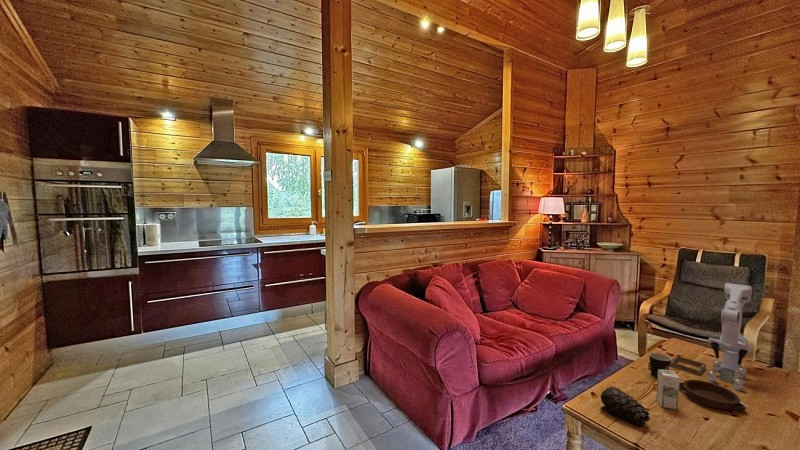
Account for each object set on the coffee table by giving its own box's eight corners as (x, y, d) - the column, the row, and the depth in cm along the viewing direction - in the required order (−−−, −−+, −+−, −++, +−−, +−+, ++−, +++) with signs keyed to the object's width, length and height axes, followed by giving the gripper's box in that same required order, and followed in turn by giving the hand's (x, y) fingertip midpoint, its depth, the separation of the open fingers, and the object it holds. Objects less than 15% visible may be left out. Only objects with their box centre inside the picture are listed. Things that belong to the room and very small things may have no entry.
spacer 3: (737, 376, 164) (738, 366, 163) (746, 378, 161) (747, 368, 161) (736, 378, 162) (737, 368, 162) (745, 380, 160) (746, 370, 159)
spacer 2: (713, 368, 171) (713, 359, 171) (721, 371, 169) (721, 361, 168) (712, 370, 169) (712, 361, 169) (720, 372, 167) (720, 363, 166)
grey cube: (721, 376, 164) (722, 366, 163) (734, 380, 160) (735, 370, 160) (719, 379, 161) (720, 369, 161) (732, 383, 157) (733, 373, 157)
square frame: (676, 359, 181) (676, 355, 181) (705, 368, 171) (705, 364, 171) (669, 366, 174) (669, 361, 174) (699, 375, 164) (699, 371, 164)
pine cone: (645, 433, 124) (646, 408, 123) (595, 409, 139) (596, 386, 138) (656, 423, 130) (657, 398, 129) (607, 400, 145) (608, 379, 144)
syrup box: (671, 402, 143) (673, 370, 142) (678, 410, 137) (679, 377, 136) (656, 400, 145) (657, 368, 144) (661, 408, 139) (663, 375, 138)
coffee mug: (662, 371, 168) (663, 352, 168) (674, 381, 160) (675, 361, 159) (638, 370, 170) (638, 352, 169) (649, 379, 161) (649, 360, 160)
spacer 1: (708, 379, 161) (709, 369, 161) (716, 381, 159) (717, 371, 158) (706, 381, 159) (707, 371, 159) (715, 384, 157) (715, 373, 157)
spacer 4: (734, 387, 154) (735, 377, 154) (743, 390, 151) (744, 380, 151) (733, 389, 152) (733, 379, 152) (742, 392, 150) (742, 382, 149)
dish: (740, 422, 130) (741, 410, 130) (671, 395, 148) (671, 385, 148) (749, 406, 140) (750, 395, 140) (683, 383, 158) (683, 373, 158)
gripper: (707, 331, 162) (706, 357, 163) (750, 341, 151) (748, 369, 152) (711, 327, 167) (709, 353, 167) (752, 337, 155) (750, 365, 156)
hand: (728, 361), depth 160 cm, fingers open, 7 cm apart
